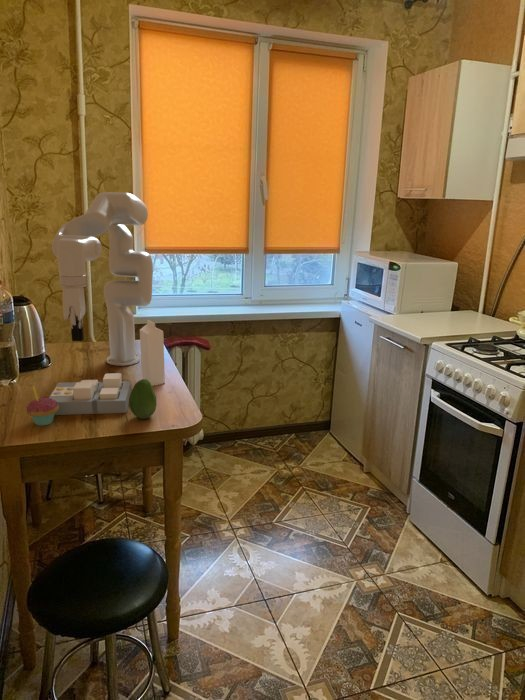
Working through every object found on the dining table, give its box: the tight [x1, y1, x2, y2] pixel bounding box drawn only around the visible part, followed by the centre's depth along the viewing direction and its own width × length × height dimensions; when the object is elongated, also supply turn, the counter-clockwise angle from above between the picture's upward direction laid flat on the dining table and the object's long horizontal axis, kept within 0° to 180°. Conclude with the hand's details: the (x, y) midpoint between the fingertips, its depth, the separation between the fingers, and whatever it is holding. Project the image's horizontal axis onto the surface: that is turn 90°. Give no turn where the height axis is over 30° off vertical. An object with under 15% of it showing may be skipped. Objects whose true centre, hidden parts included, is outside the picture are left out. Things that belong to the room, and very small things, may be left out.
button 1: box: [73, 381, 94, 400], centre depth 162 cm, size 5×5×5 cm
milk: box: [139, 319, 166, 387], centre depth 182 cm, size 6×6×22 cm
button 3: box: [102, 372, 123, 390], centre depth 170 cm, size 5×5×5 cm
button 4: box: [100, 388, 119, 399], centre depth 163 cm, size 5×5×5 cm
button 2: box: [80, 379, 99, 390], centre depth 169 cm, size 5×5×5 cm
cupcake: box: [25, 383, 59, 426], centre depth 151 cm, size 9×8×12 cm
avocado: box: [128, 378, 158, 420], centre depth 156 cm, size 8×8×12 cm
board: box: [48, 380, 133, 416], centre depth 166 cm, size 16×23×4 cm
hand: (78, 340), depth 163 cm, fingers closed
